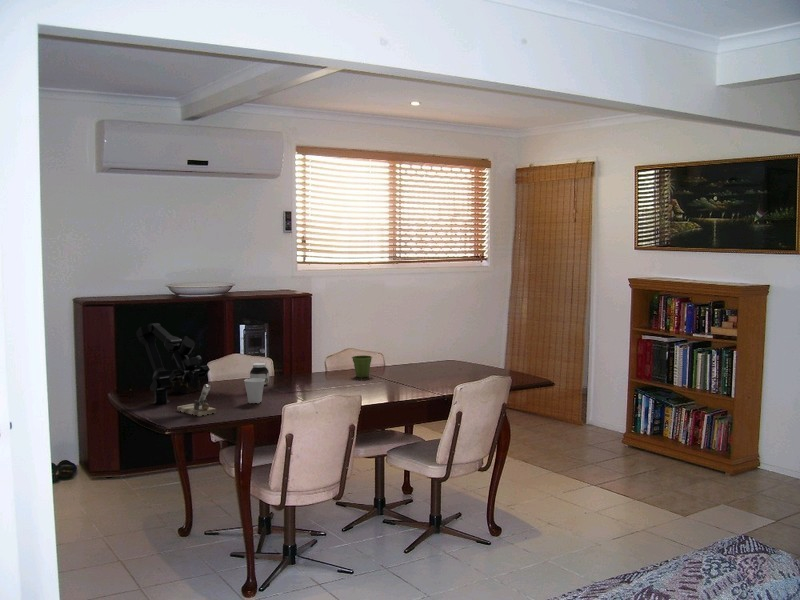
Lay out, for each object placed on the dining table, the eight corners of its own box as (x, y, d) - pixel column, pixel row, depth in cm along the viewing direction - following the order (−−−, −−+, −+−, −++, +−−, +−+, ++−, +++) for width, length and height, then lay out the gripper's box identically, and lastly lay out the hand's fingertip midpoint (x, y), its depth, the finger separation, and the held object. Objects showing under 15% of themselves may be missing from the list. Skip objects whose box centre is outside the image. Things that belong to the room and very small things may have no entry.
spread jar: (258, 387, 425) (258, 365, 424) (242, 385, 431) (242, 364, 430) (273, 384, 435) (273, 362, 434) (257, 382, 441) (257, 361, 440)
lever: (195, 403, 365) (202, 384, 360) (201, 402, 367) (208, 383, 362) (198, 407, 363) (206, 389, 358) (204, 406, 365) (211, 388, 360)
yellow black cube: (200, 390, 418) (200, 371, 418) (188, 393, 409) (187, 374, 408) (185, 388, 423) (184, 370, 422) (172, 392, 414) (171, 373, 413)
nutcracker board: (177, 410, 369) (177, 397, 369) (194, 407, 376) (193, 395, 376) (199, 416, 358) (199, 403, 357) (216, 413, 364) (216, 400, 364)
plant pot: (350, 375, 461) (350, 355, 460) (371, 374, 463) (370, 355, 462) (353, 378, 450) (352, 358, 449) (374, 378, 452) (373, 358, 451)
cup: (245, 400, 392) (245, 378, 391) (266, 400, 392) (265, 377, 391) (243, 404, 382) (242, 382, 381) (264, 404, 383) (263, 381, 382)
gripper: (172, 352, 360) (186, 380, 354) (207, 348, 374) (221, 374, 368) (162, 367, 366) (176, 395, 360) (197, 362, 380) (211, 389, 374)
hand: (197, 388), depth 365 cm, fingers closed
